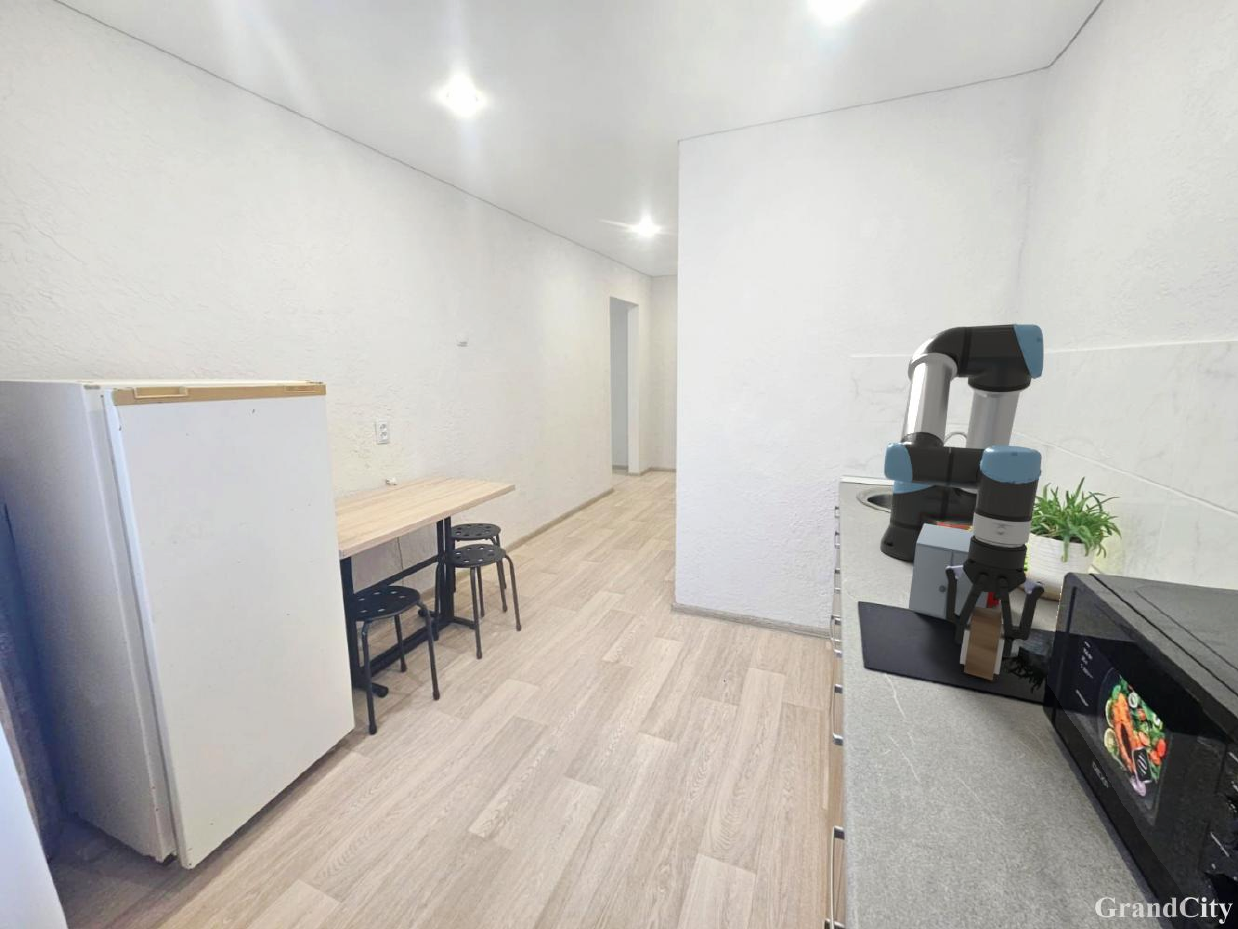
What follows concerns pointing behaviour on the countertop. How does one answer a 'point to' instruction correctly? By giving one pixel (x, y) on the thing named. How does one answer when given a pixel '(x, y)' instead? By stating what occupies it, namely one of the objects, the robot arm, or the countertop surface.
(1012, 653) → the token
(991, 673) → the upright wooden brick
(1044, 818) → the countertop surface
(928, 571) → the cabinet
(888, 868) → the countertop surface
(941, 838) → the countertop surface
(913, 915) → the countertop surface
